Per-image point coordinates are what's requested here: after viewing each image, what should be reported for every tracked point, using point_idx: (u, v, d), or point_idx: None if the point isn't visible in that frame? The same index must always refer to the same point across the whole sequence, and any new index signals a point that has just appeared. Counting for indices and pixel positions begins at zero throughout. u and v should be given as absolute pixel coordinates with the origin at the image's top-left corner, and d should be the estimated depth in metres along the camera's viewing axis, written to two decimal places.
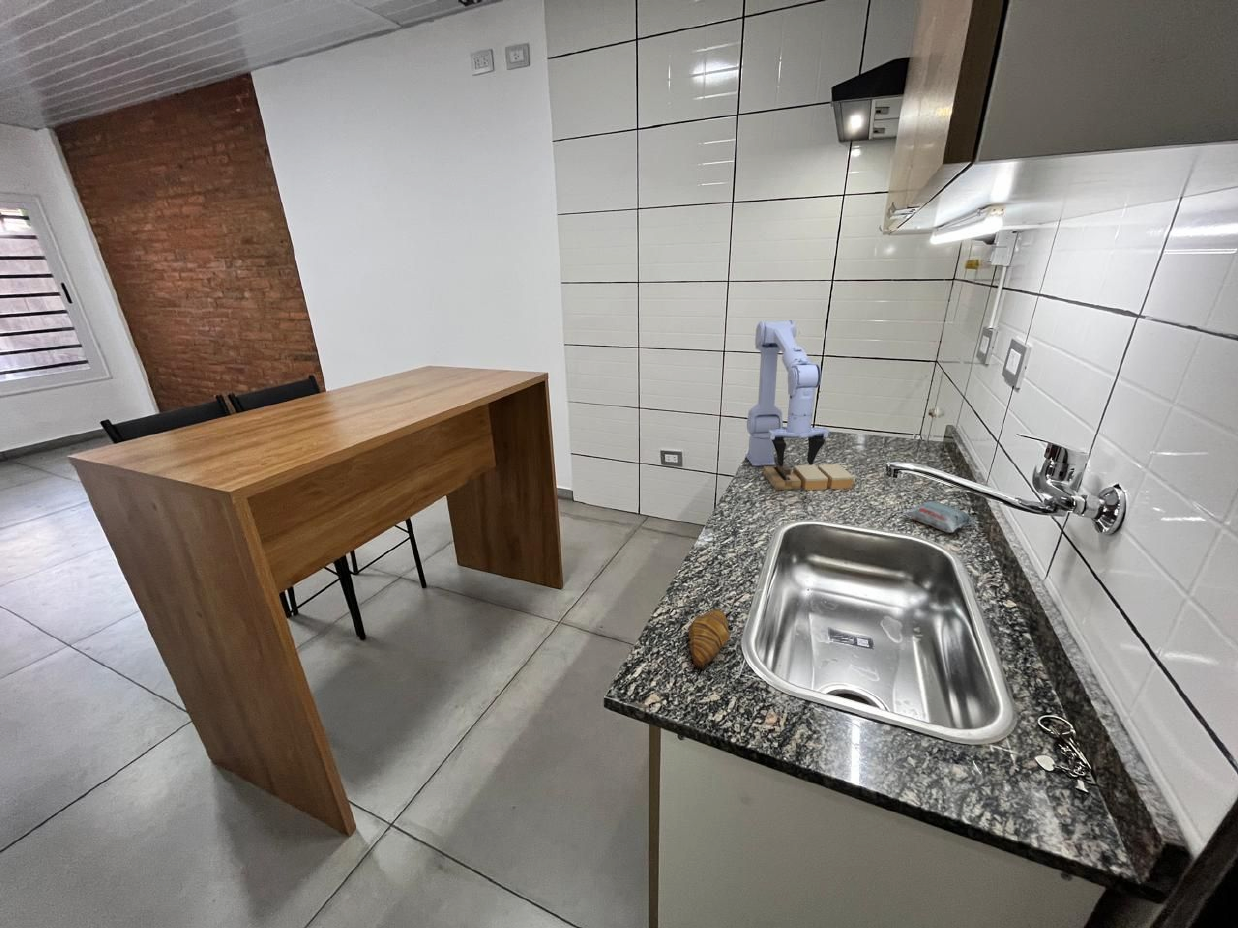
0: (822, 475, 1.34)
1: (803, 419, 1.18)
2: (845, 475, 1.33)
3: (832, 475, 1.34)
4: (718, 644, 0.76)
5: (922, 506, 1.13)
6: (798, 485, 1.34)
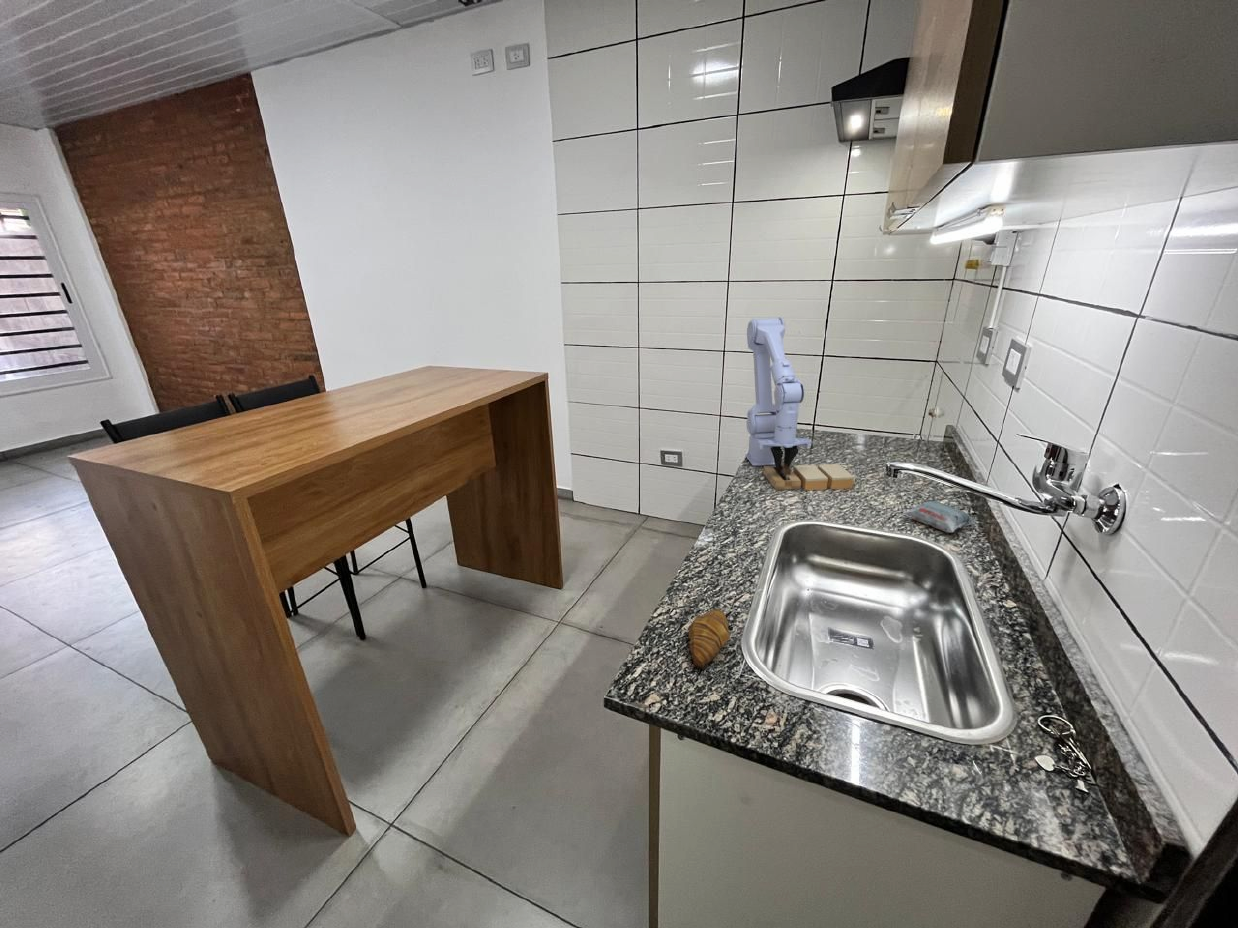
0: (822, 475, 1.34)
1: (788, 431, 1.32)
2: (845, 475, 1.33)
3: (832, 475, 1.34)
4: (718, 644, 0.76)
5: (922, 506, 1.13)
6: (798, 485, 1.34)
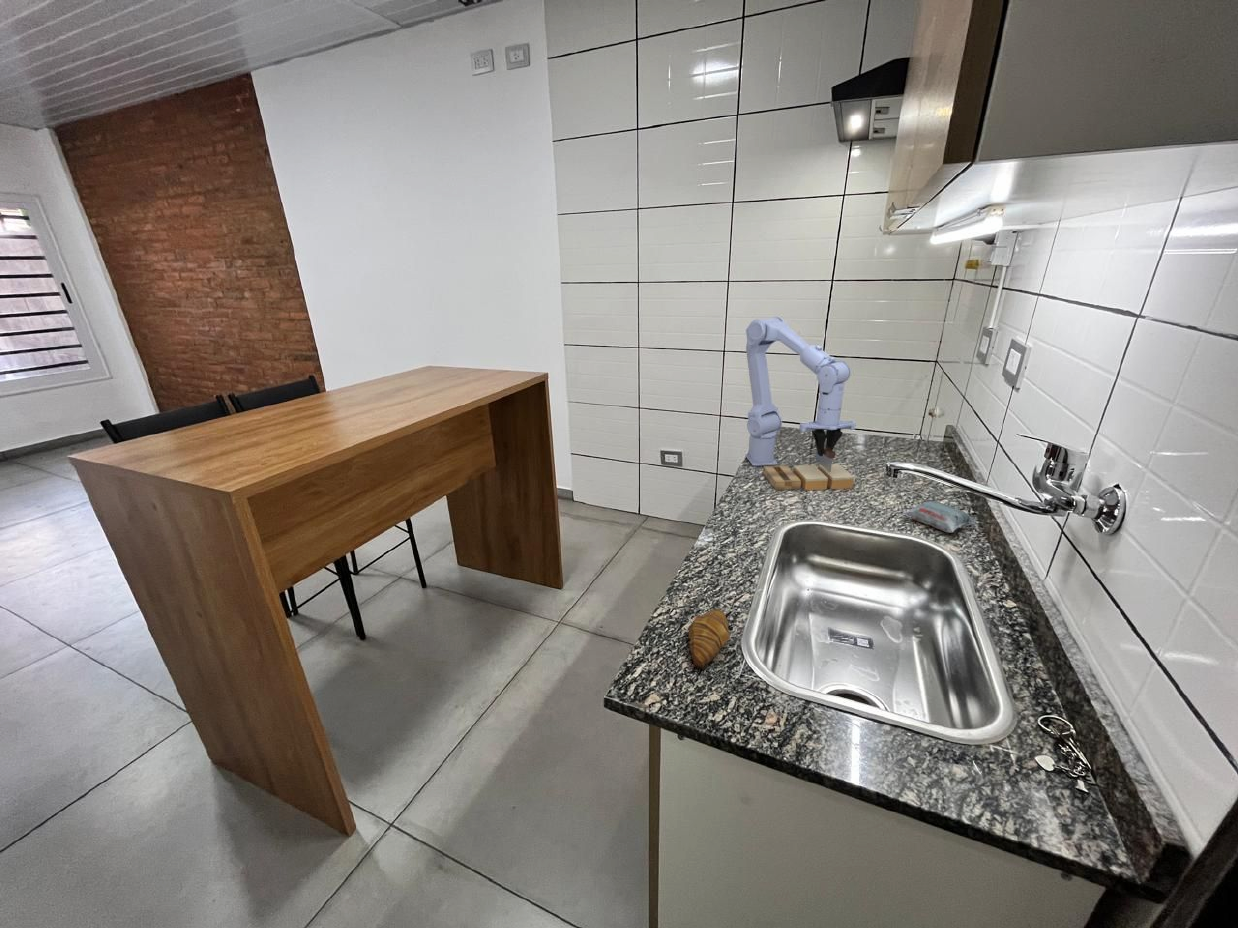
0: (822, 475, 1.34)
1: (833, 413, 1.28)
2: (845, 475, 1.33)
3: (832, 475, 1.34)
4: (718, 644, 0.76)
5: (922, 506, 1.13)
6: (798, 485, 1.34)
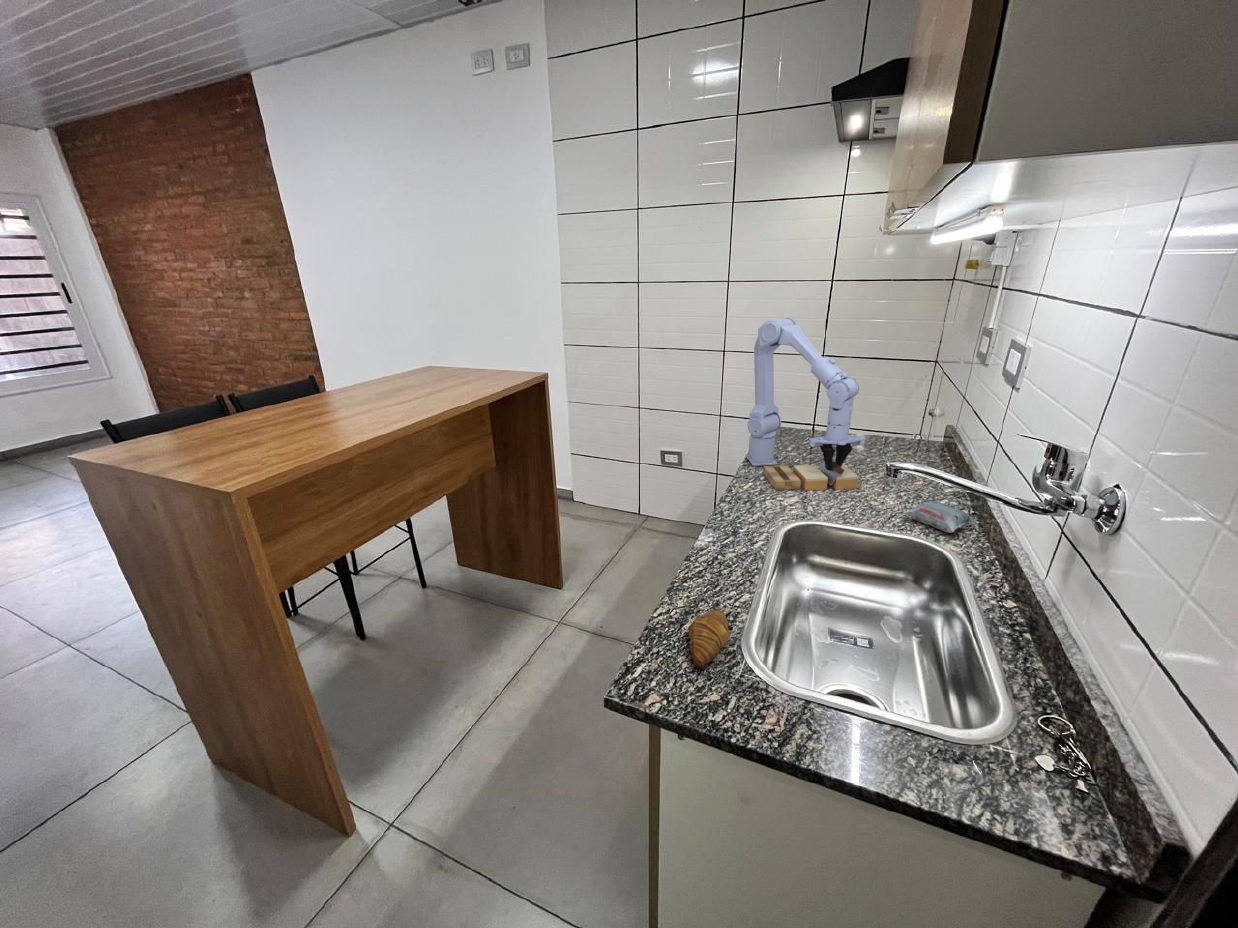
0: (822, 475, 1.34)
1: (842, 428, 1.29)
2: (849, 475, 1.33)
3: None
4: (718, 644, 0.76)
5: (922, 506, 1.13)
6: (798, 485, 1.34)
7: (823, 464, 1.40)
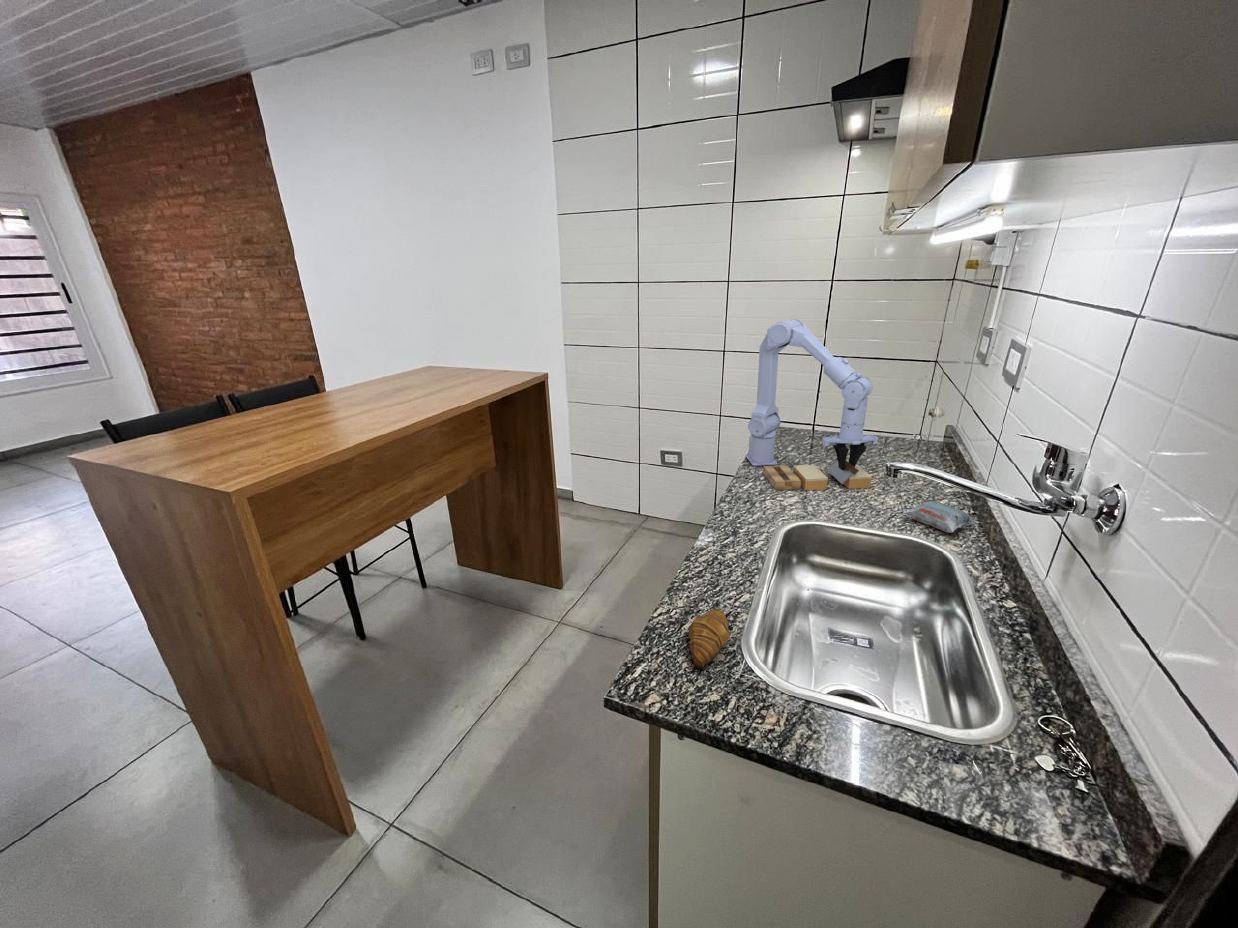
0: (822, 475, 1.34)
1: (856, 428, 1.29)
2: (862, 474, 1.33)
3: None
4: (718, 644, 0.76)
5: (922, 506, 1.13)
6: (798, 485, 1.34)
7: (836, 463, 1.40)
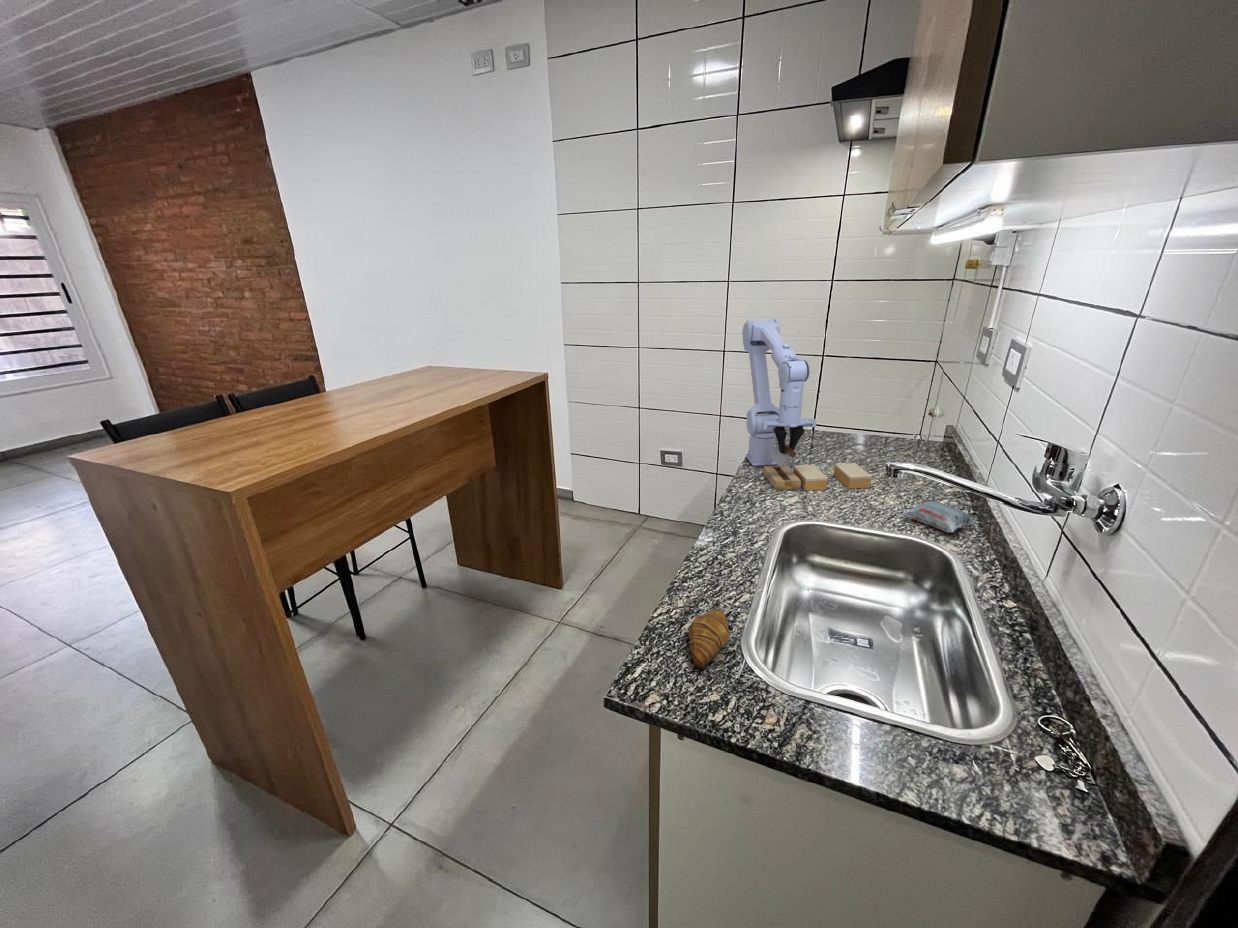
0: (822, 475, 1.34)
1: (793, 410, 1.29)
2: (863, 474, 1.33)
3: (850, 474, 1.34)
4: (718, 644, 0.76)
5: (922, 506, 1.13)
6: (798, 485, 1.34)
7: (777, 447, 1.40)
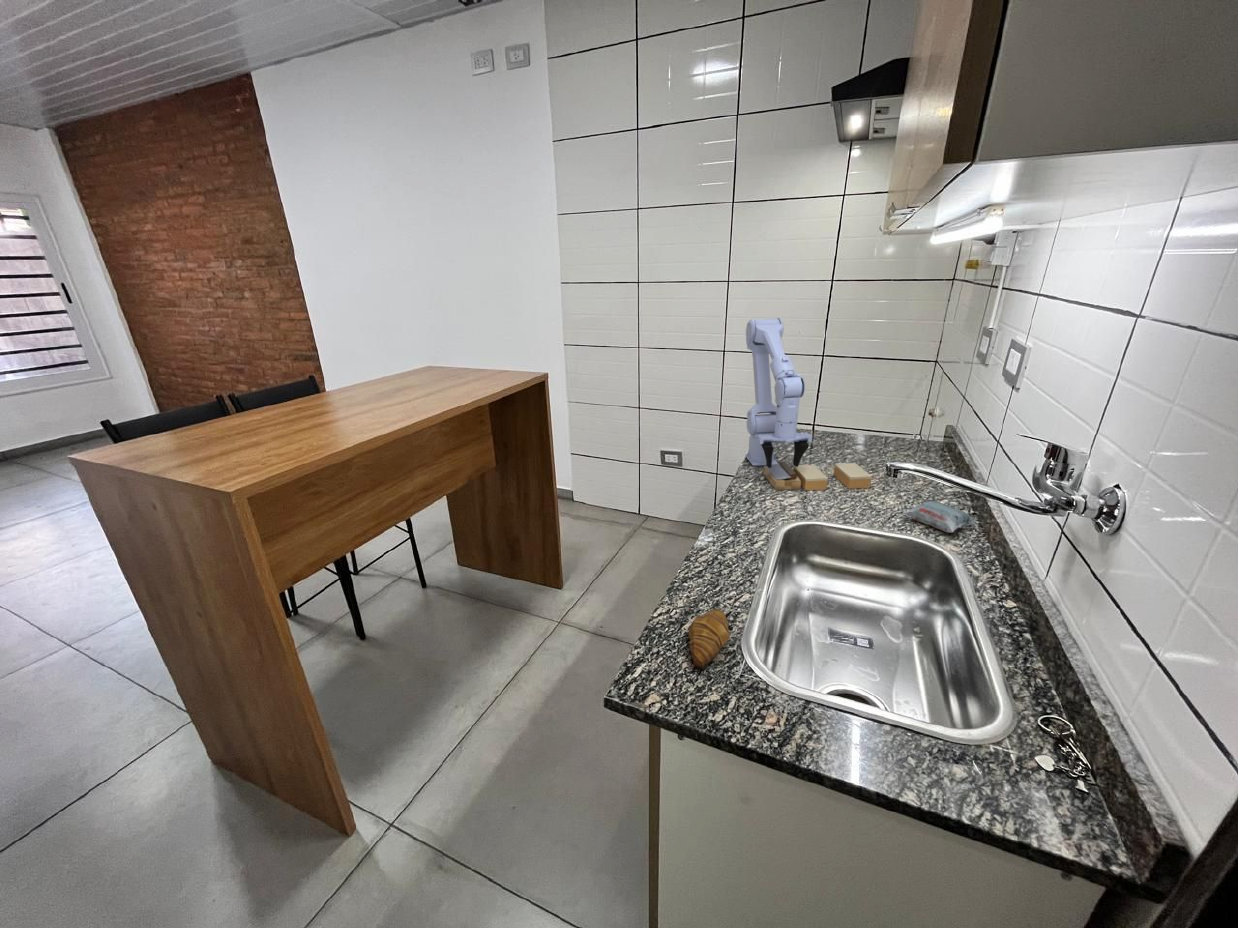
0: (822, 475, 1.34)
1: (789, 426, 1.31)
2: (863, 474, 1.33)
3: (850, 474, 1.34)
4: (718, 644, 0.76)
5: (922, 506, 1.13)
6: (798, 485, 1.34)
7: (777, 465, 1.42)
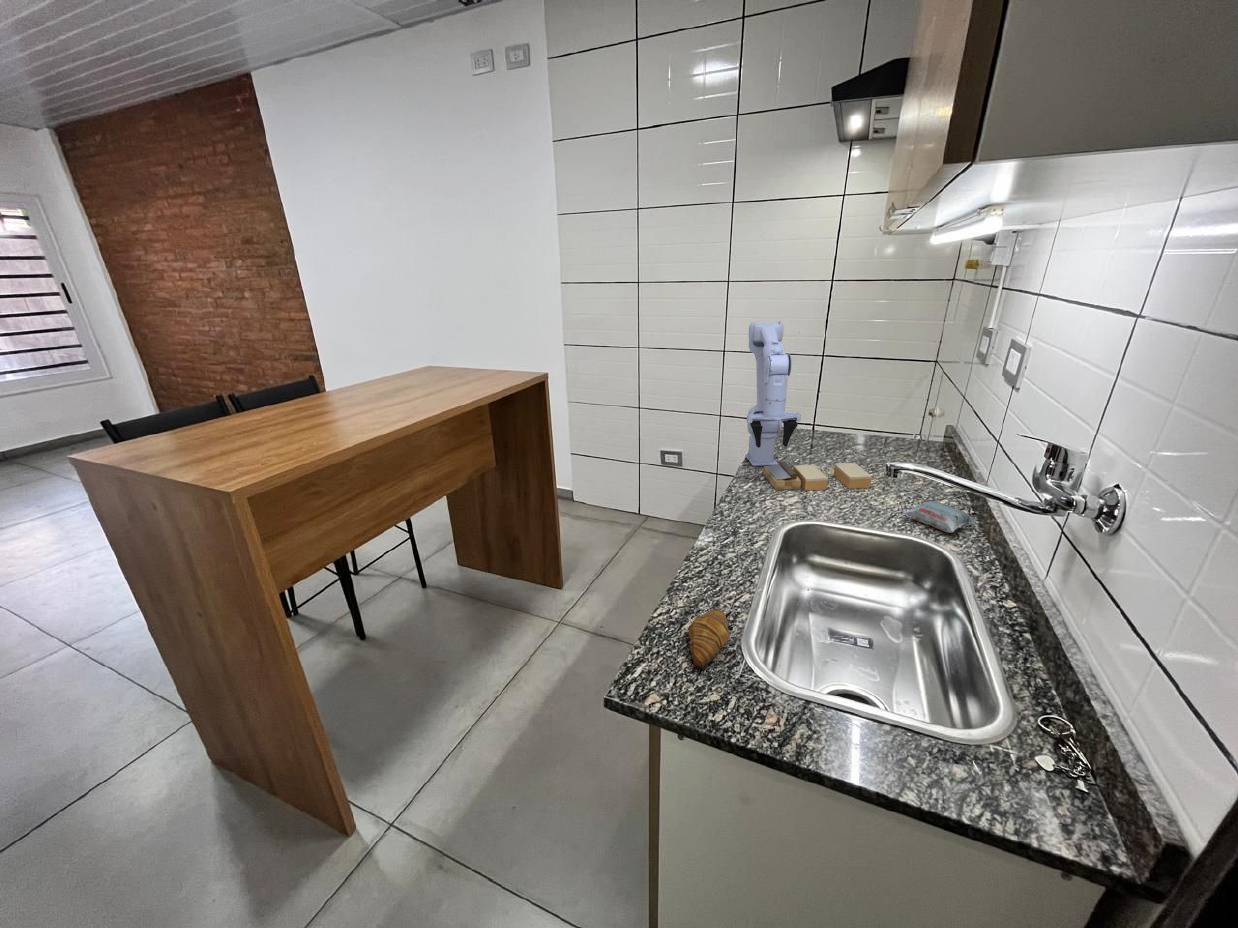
0: (822, 475, 1.34)
1: (777, 404, 1.31)
2: (863, 474, 1.33)
3: (850, 474, 1.34)
4: (718, 644, 0.76)
5: (922, 506, 1.13)
6: (798, 485, 1.34)
7: (777, 465, 1.42)
